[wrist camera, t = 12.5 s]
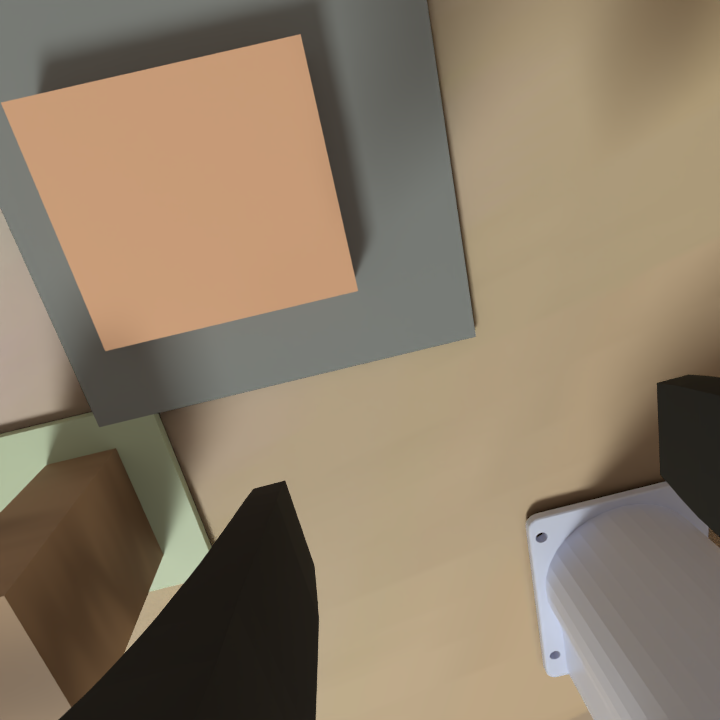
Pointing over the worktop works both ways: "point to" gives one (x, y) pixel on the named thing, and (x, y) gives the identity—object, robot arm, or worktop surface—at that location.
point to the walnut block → (70, 582)
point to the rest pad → (143, 465)
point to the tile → (189, 191)
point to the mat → (348, 166)
